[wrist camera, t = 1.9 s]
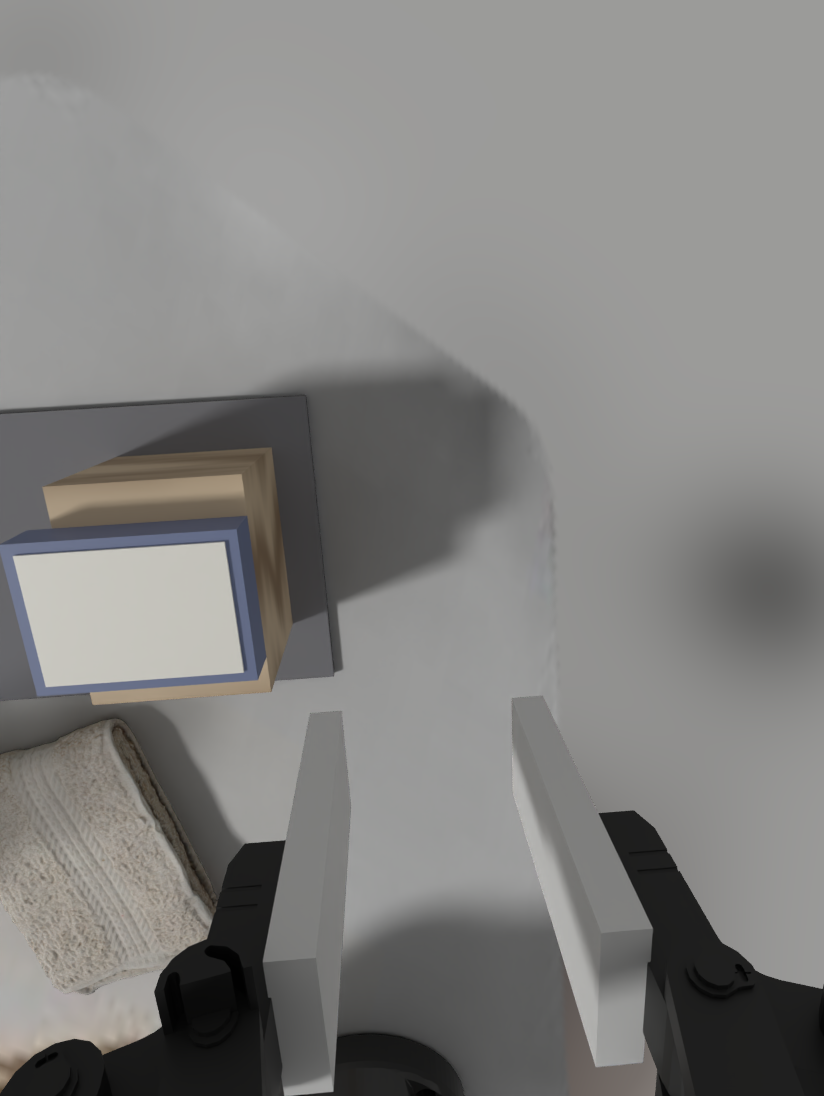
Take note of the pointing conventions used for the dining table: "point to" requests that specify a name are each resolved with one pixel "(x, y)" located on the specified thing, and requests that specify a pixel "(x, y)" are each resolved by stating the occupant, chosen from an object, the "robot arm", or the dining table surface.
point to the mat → (105, 433)
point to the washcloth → (97, 860)
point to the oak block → (185, 494)
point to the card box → (137, 605)
